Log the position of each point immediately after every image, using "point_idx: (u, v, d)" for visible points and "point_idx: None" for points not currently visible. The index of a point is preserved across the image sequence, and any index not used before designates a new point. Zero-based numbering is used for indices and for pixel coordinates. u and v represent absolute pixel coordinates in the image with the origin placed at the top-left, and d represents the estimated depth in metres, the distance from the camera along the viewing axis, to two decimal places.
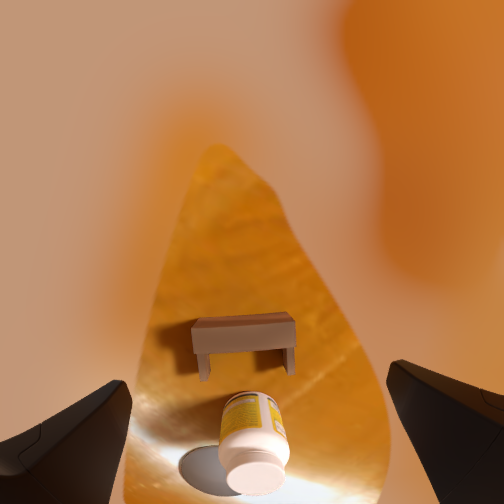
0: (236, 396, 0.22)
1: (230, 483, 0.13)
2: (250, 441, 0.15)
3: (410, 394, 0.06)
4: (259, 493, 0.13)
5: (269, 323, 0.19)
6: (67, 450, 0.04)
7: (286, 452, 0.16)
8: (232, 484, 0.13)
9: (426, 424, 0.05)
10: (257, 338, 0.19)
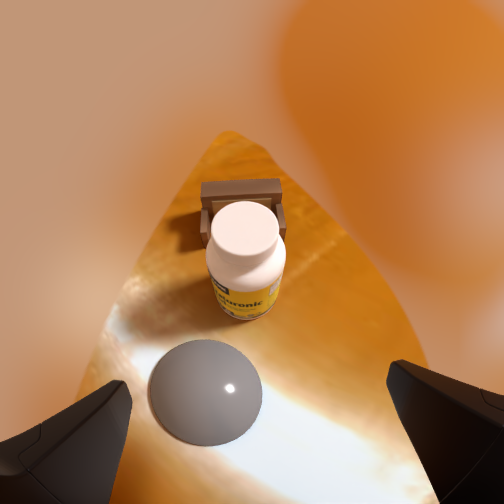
0: None
1: (215, 229, 0.16)
2: None
3: (410, 394, 0.06)
4: (248, 250, 0.15)
5: None
6: (68, 450, 0.04)
7: (280, 239, 0.18)
8: (217, 230, 0.15)
9: (426, 424, 0.05)
10: (251, 186, 0.25)
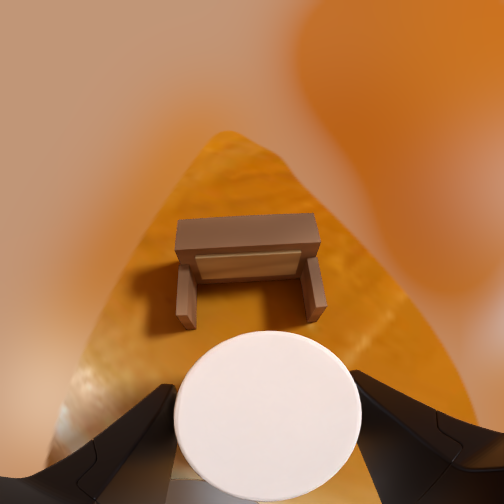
0: None
1: (184, 428, 0.04)
2: None
3: (361, 408, 0.06)
4: (282, 489, 0.04)
5: None
6: (128, 466, 0.04)
7: None
8: (190, 434, 0.04)
9: (377, 442, 0.05)
10: (265, 229, 0.14)
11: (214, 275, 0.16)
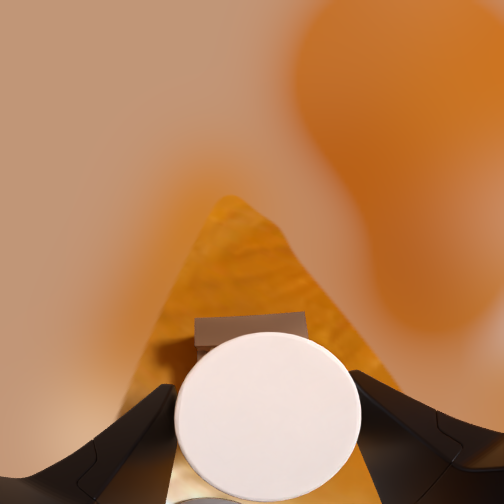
0: None
1: (185, 428, 0.04)
2: None
3: None
4: (282, 490, 0.04)
5: (277, 314, 0.19)
6: (129, 466, 0.04)
7: None
8: (191, 434, 0.04)
9: (377, 442, 0.05)
10: (265, 329, 0.18)
11: None
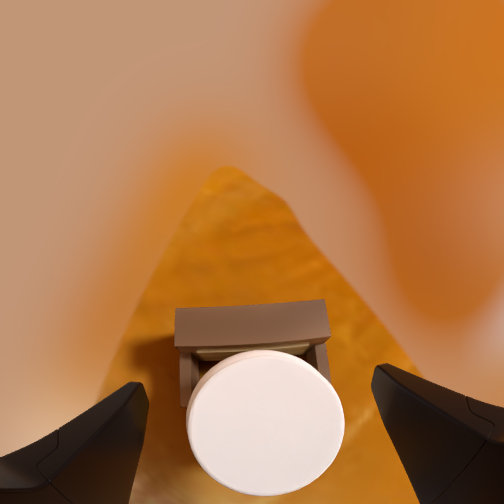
0: None
1: (196, 436, 0.05)
2: None
3: (393, 399, 0.06)
4: (277, 486, 0.05)
5: None
6: (88, 456, 0.04)
7: None
8: (202, 441, 0.05)
9: (410, 430, 0.05)
10: (271, 323, 0.13)
11: (217, 359, 0.14)
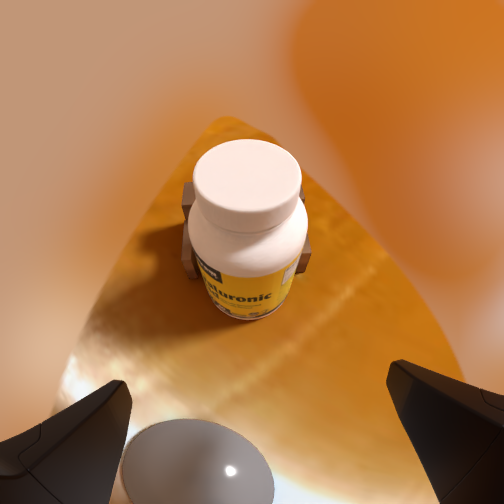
0: None
1: (199, 174, 0.09)
2: None
3: (410, 394, 0.06)
4: (253, 204, 0.09)
5: None
6: (68, 450, 0.04)
7: (300, 200, 0.12)
8: (202, 176, 0.09)
9: (426, 424, 0.05)
10: None
11: None
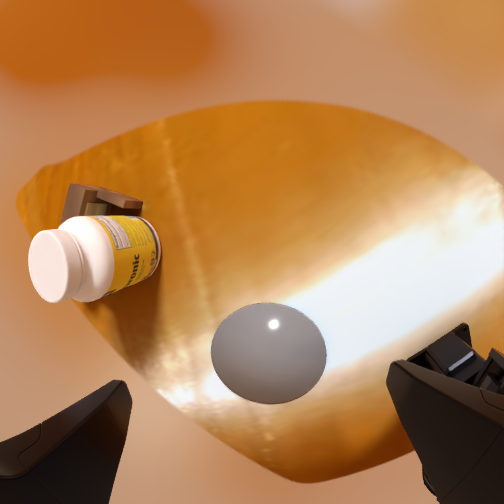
0: None
1: (44, 296, 0.12)
2: None
3: (410, 394, 0.06)
4: (64, 278, 0.11)
5: None
6: (68, 450, 0.04)
7: (75, 221, 0.13)
8: (45, 295, 0.12)
9: (426, 424, 0.05)
10: None
11: None
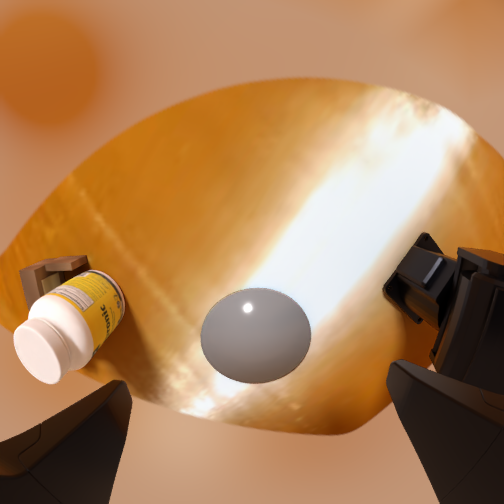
0: None
1: (47, 381, 0.11)
2: None
3: (410, 394, 0.06)
4: (54, 359, 0.11)
5: (25, 292, 0.16)
6: (68, 450, 0.04)
7: (39, 304, 0.13)
8: (47, 380, 0.11)
9: (427, 423, 0.05)
10: None
11: None
